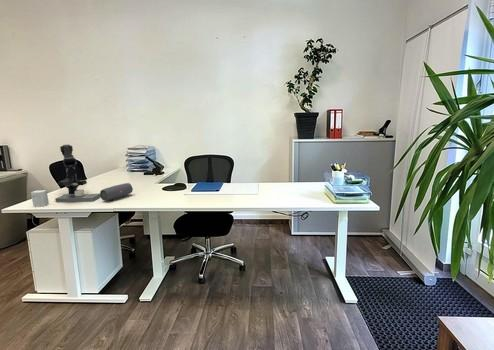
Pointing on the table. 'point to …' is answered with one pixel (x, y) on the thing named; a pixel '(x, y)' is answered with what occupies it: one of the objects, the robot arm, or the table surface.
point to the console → (77, 198)
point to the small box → (40, 198)
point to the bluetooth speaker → (116, 192)
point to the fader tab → (79, 193)
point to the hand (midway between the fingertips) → (74, 193)
